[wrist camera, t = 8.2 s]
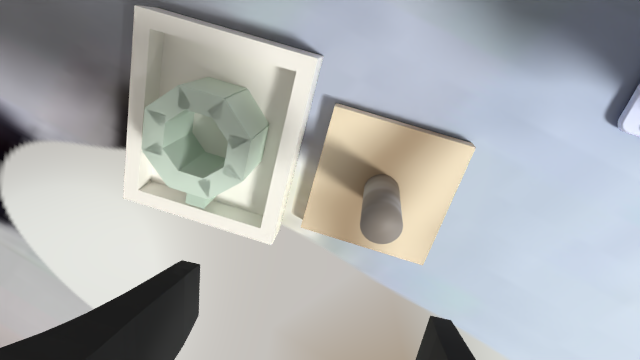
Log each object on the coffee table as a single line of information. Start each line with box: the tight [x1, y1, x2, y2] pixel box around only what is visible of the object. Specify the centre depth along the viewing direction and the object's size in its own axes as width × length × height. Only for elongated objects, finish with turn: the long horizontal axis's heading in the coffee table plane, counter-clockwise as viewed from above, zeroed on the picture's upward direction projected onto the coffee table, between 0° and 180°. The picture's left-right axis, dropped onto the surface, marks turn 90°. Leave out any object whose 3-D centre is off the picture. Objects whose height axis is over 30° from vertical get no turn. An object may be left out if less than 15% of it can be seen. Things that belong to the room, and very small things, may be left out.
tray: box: [123, 5, 324, 245], centre depth 20 cm, size 9×10×2 cm
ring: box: [141, 77, 269, 209], centre depth 19 cm, size 5×6×3 cm
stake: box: [301, 103, 476, 265], centre depth 18 cm, size 7×7×5 cm
